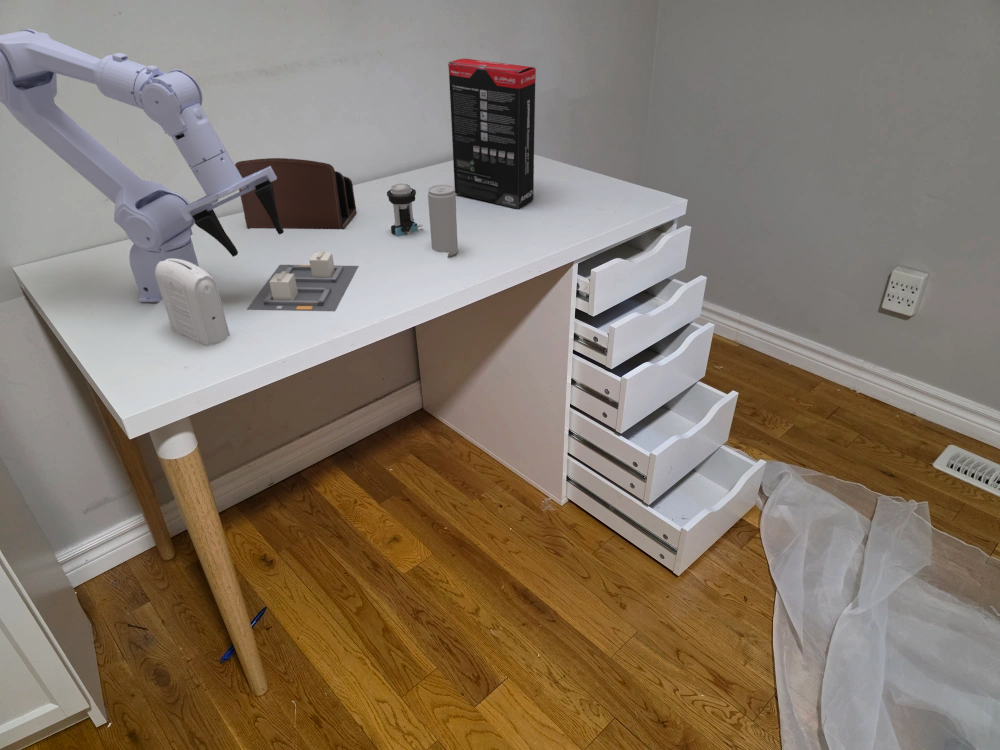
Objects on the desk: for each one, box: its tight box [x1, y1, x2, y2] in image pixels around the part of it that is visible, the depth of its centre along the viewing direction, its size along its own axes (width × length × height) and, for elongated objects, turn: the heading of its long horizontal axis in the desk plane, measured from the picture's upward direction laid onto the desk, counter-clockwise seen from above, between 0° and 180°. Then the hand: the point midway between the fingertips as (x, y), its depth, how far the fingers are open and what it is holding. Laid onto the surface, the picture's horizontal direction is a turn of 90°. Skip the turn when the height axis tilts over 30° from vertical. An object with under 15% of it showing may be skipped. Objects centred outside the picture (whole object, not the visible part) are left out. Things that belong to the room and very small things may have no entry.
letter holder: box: [234, 157, 357, 230], centre depth 137 cm, size 10×20×14 cm, turn 83°
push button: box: [386, 183, 424, 238], centre depth 130 cm, size 7×5×10 cm
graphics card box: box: [447, 58, 537, 210], centre depth 142 cm, size 17×7×27 cm, turn 58°
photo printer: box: [155, 259, 231, 347], centre depth 100 cm, size 10×4×12 cm, turn 55°
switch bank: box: [246, 264, 359, 312], centre depth 114 cm, size 14×16×2 cm
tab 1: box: [269, 271, 298, 300], centre depth 110 cm, size 3×3×4 cm
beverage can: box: [427, 184, 459, 258], centre depth 124 cm, size 5×5×12 cm
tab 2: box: [308, 249, 335, 278], centre depth 116 cm, size 3×3×4 cm
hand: (258, 243), depth 106 cm, fingers open, 7 cm apart
